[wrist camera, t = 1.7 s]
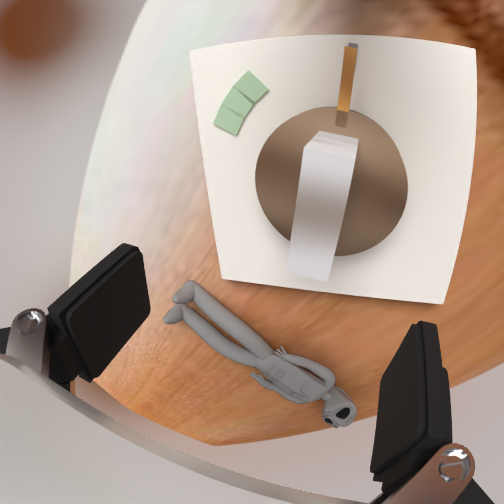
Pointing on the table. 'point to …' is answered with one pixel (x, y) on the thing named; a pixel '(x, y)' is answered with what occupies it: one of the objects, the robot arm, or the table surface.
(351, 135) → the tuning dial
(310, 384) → the alien figure
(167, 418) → the table surface
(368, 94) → the white square board
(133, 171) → the table surface
